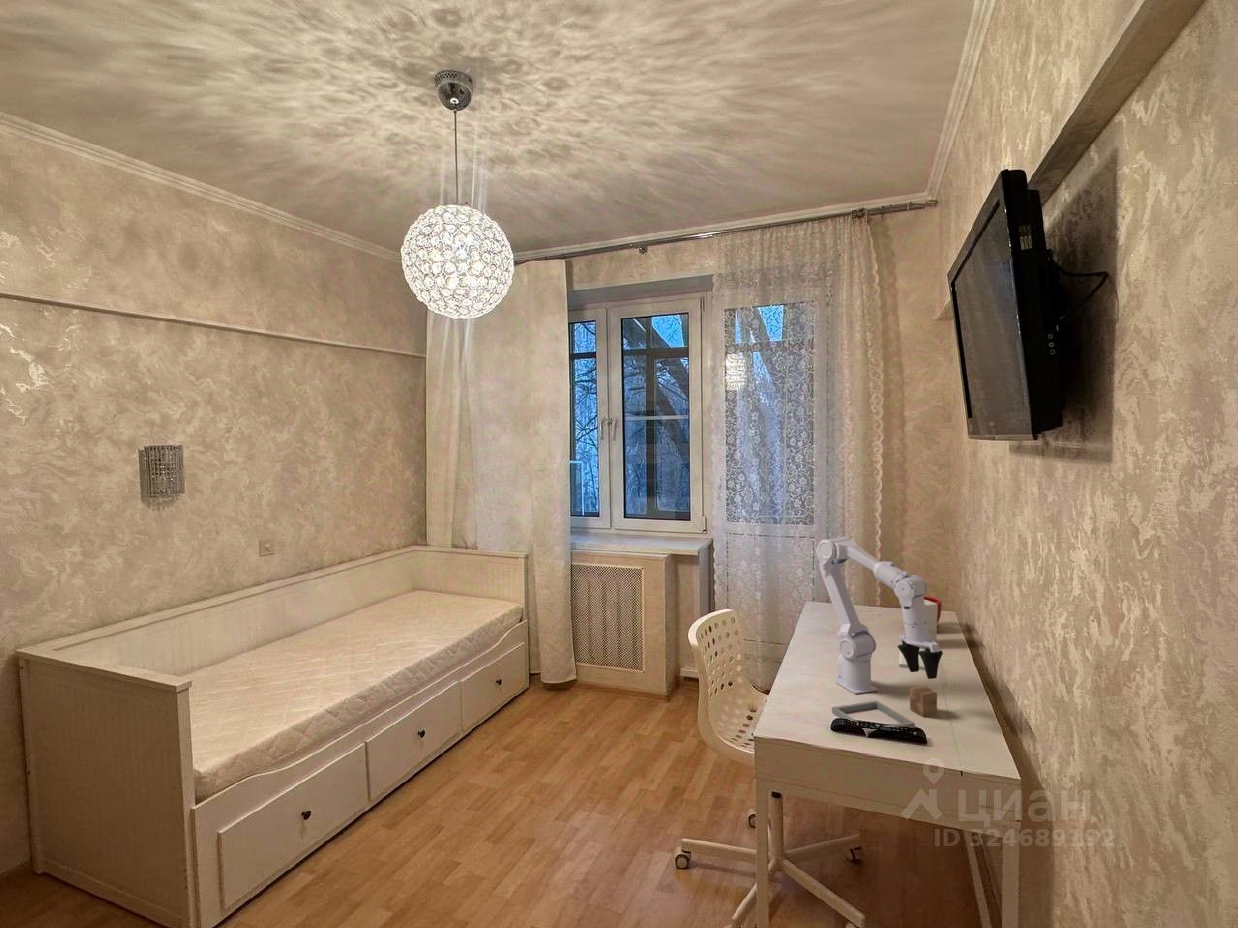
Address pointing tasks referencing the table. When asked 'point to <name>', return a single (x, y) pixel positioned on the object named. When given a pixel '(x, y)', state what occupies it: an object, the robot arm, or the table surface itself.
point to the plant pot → (937, 608)
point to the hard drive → (904, 664)
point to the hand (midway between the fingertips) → (923, 674)
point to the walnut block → (923, 701)
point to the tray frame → (844, 709)
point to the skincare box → (931, 618)
